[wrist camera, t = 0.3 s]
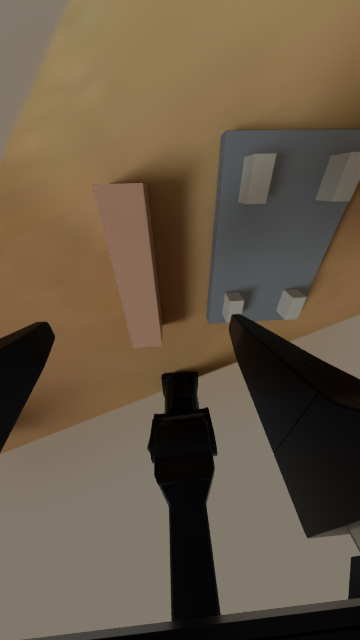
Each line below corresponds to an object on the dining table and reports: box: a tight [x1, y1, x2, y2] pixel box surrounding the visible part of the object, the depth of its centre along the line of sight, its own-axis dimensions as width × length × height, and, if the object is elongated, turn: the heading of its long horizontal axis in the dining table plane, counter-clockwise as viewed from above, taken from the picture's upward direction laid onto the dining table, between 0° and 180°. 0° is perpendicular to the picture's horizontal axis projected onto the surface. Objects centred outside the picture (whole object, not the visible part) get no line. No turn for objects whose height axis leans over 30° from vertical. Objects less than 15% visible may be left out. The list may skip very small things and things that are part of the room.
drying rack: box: [207, 129, 360, 324], centre depth 19 cm, size 18×12×4 cm, turn 1°
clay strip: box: [92, 183, 163, 348], centre depth 19 cm, size 16×4×4 cm, turn 2°
